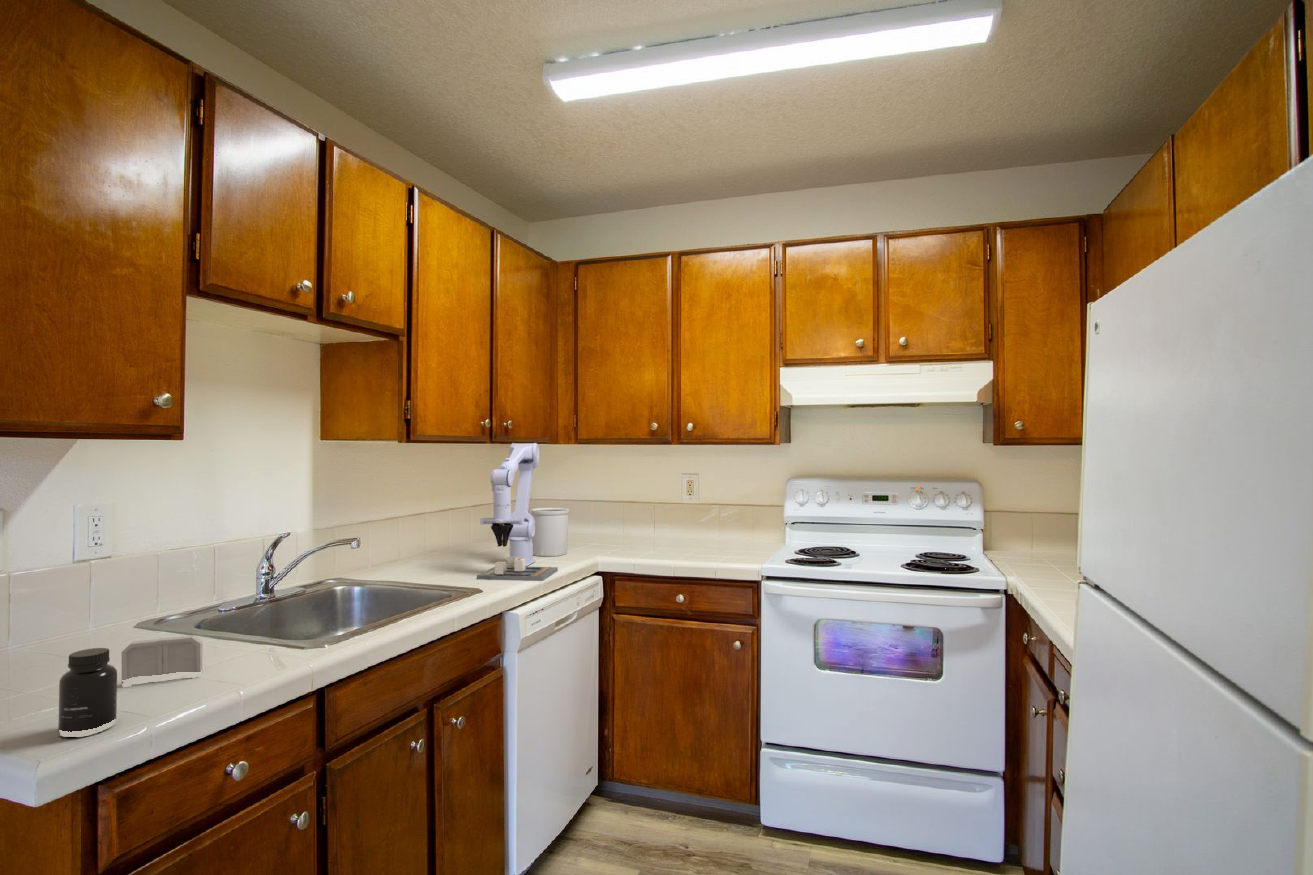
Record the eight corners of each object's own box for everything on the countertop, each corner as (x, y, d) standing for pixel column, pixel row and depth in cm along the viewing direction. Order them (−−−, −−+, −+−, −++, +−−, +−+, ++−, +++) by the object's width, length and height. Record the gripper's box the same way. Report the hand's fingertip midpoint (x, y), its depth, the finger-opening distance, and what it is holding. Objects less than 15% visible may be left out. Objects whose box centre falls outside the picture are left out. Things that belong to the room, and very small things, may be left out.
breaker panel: (496, 569, 228) (496, 554, 228) (557, 570, 224) (557, 555, 224) (476, 579, 212) (476, 563, 212) (542, 580, 209) (542, 564, 209)
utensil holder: (553, 549, 269) (553, 506, 270) (576, 553, 259) (576, 508, 259) (523, 553, 259) (523, 509, 259) (546, 558, 248) (546, 512, 249)
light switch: (124, 684, 121) (124, 642, 121) (202, 674, 126) (202, 633, 126) (121, 687, 120) (121, 644, 120) (200, 677, 124) (200, 636, 124)
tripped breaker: (517, 569, 220) (517, 557, 220) (525, 569, 219) (525, 557, 219) (514, 571, 217) (514, 559, 217) (522, 571, 216) (522, 559, 216)
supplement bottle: (62, 744, 97) (61, 662, 97) (55, 730, 102) (55, 652, 102) (121, 728, 102) (121, 651, 102) (112, 716, 107) (112, 642, 107)
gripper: (476, 506, 216) (476, 547, 216) (518, 506, 214) (519, 548, 214) (485, 504, 223) (485, 544, 223) (526, 504, 221) (526, 544, 221)
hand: (502, 546), depth 219 cm, fingers closed
